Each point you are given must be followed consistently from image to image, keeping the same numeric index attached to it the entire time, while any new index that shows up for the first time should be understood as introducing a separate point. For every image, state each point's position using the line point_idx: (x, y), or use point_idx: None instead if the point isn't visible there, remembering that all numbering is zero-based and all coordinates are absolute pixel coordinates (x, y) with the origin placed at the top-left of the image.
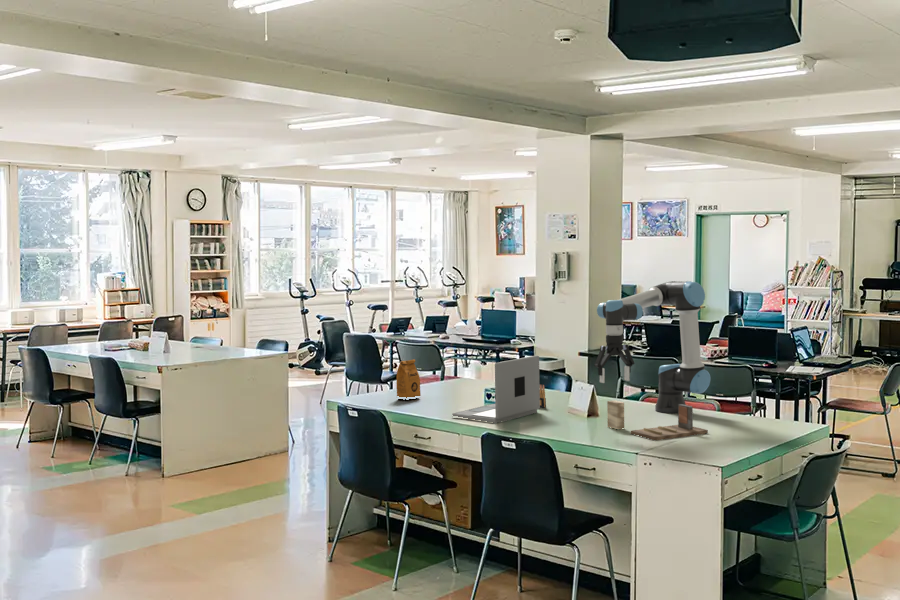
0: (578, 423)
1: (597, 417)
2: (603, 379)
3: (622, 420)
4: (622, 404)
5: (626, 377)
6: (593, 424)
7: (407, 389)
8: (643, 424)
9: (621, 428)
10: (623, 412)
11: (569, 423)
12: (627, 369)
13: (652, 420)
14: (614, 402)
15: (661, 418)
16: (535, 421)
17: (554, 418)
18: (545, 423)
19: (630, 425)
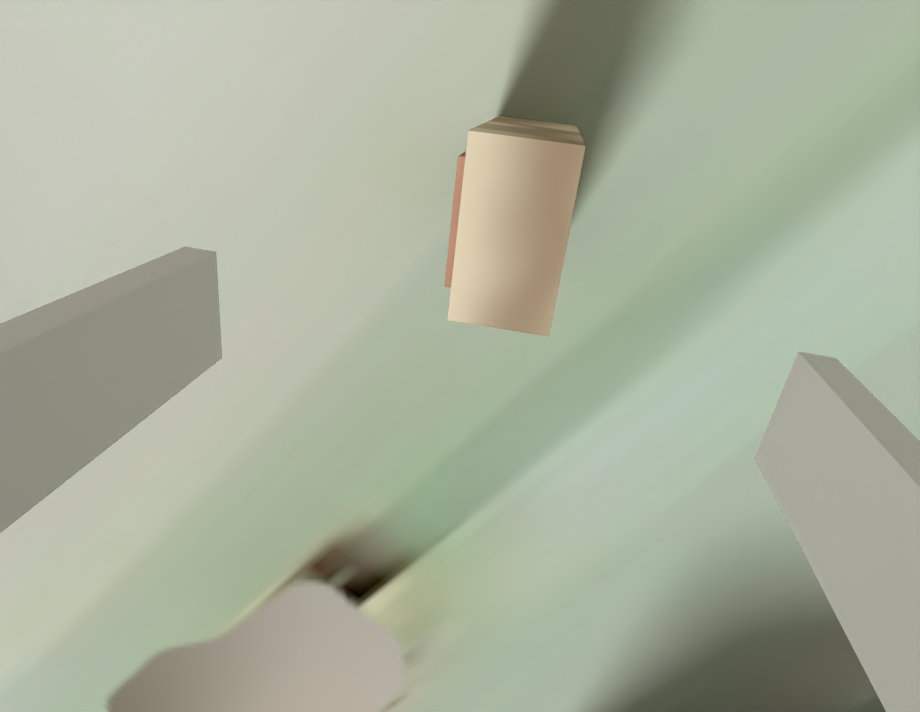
0: (600, 482)
1: (358, 527)
2: (858, 393)
3: (513, 121)
4: (497, 132)
5: (183, 321)
6: (548, 398)
7: None
8: (249, 162)
9: (528, 120)
10: (493, 124)
11: (645, 517)
12: (39, 361)
13: (106, 233)
14: (561, 211)
15: (14, 245)
16: (750, 675)
17: (588, 658)
18: (761, 607)
19: (357, 198)
